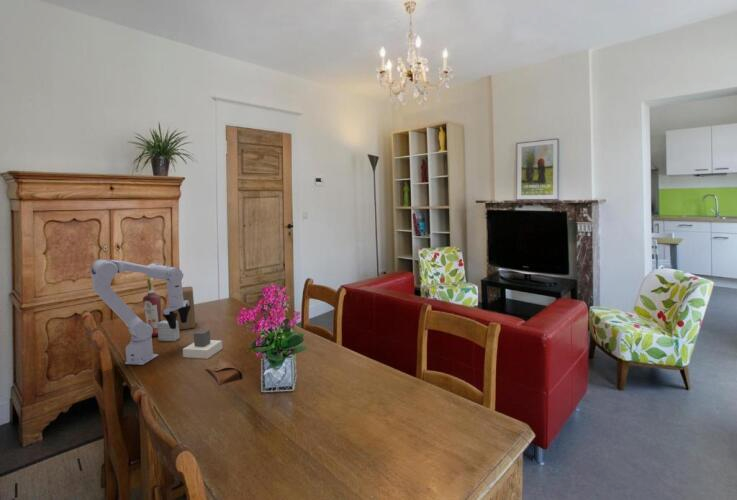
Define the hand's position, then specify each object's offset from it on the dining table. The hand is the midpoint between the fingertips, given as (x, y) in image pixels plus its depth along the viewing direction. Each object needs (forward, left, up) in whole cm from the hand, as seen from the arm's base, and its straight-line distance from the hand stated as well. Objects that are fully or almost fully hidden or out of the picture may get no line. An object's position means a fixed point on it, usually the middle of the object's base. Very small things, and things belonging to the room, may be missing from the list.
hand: (178, 325), depth 168 cm
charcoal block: (-3, -13, -7) cm, 15 cm away
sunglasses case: (-21, -31, -11) cm, 40 cm away
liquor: (+15, +23, -11) cm, 29 cm away
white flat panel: (-3, -13, -11) cm, 17 cm away
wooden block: (+28, +16, -11) cm, 34 cm away
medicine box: (+10, +12, -11) cm, 19 cm away
